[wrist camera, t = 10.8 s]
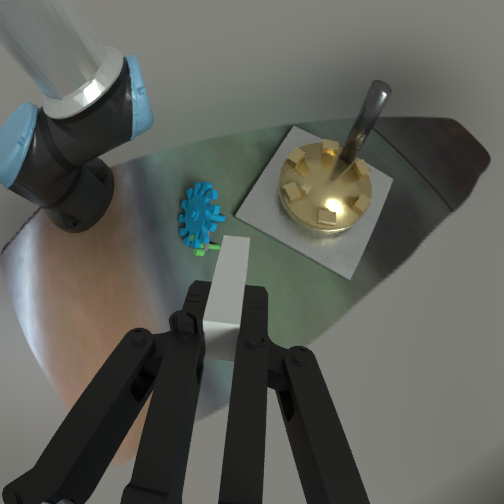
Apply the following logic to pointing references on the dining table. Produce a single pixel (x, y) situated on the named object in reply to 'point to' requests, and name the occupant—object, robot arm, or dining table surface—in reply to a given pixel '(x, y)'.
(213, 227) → the gear
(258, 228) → the white square base plate
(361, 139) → the gold toothed rod mount
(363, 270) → the dining table surface
